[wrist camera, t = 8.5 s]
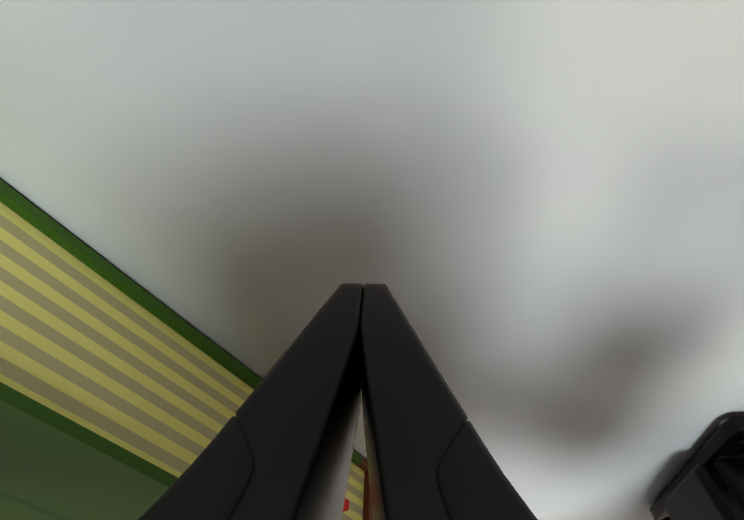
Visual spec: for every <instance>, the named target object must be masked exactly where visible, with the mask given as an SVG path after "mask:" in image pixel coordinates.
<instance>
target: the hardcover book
mask: <svg viewBox="0 0 744 520" xmlns="http://www.w3.org/2000/svg"><path fill="white" fill-rule="evenodd" d="M261 381H262V380H261V379H260V378H259V377H258V376H256V375H255V374H254V373H252V372H251V371H250V370H248V369H247V368H246V367H244V366H243V365H242V364H241V363H239V362H238V361H237V360H235V359H234V358H233V357H231V356H230V355H229V354H228V353H226V352H225V351H224V350H222V349H221V348H220V347H218V346H217V345H216V344H214V343H213V342H212V341H211V340H209V339H208V338H207V337H205V336H204V335H203V334H201V333H200V332H199V331H198V330H196V329H195V328H194V327H192V326H191V325H190V324H188V323H187V322H186V321H184V320H183V319H182V318H181V317H179V316H178V315H177V314H175V313H174V312H173V311H171V310H170V309H169V308H167V307H166V306H165V305H164V304H162V303H161V302H160V301H158V300H157V299H156V298H154V297H153V296H152V295H151V294H149V293H148V292H147V291H145V290H144V289H143V288H141V287H140V286H139V285H137V284H136V283H135V282H134V281H132V280H131V279H130V278H128V277H127V276H126V275H124V274H123V273H122V272H121V271H119V270H118V269H117V268H115V267H114V266H113V265H111V264H110V263H109V262H107V261H106V260H105V259H104V258H102V257H101V256H100V255H98V254H97V253H96V252H94V251H93V250H92V249H91V248H89V247H88V246H87V245H85V244H84V243H83V242H81V241H80V240H79V239H77V238H76V237H75V236H74V235H72V234H71V233H70V232H68V231H67V230H66V229H64V228H63V227H62V226H61V225H59V224H58V223H57V222H55V221H54V220H53V219H51V218H50V217H49V216H47V215H46V214H45V213H44V212H42V211H41V210H40V209H38V208H37V207H36V206H34V205H33V204H32V203H31V202H29V201H28V200H27V199H25V198H24V197H23V196H21V195H20V194H19V193H17V192H16V191H15V190H14V189H12V188H11V187H10V186H8V185H7V184H6V183H4V182H3V181H2V180H1V179H0V520H138V519H139V518H140V517H141V516H142V515H143V514H144V513H145V512H146V511H147V510H148V509H149V508H150V507H151V506H152V505H153V504H154V503H155V502H156V501H157V500H158V499H159V498H160V497H161V496H162V495H163V494H164V492H165V491H166V490H167V489H168V488H169V487H170V486H171V485H172V484H173V483H174V482H175V481H176V480H177V479H178V478H179V477H180V476H181V475H182V474H183V473H184V472H185V471H186V469H187V468H188V467H189V466H190V465H191V464H192V463H193V462H194V461H195V459H196V458H197V457H198V456H199V455H200V454H201V453H202V451H203V450H204V449H205V448H206V447H207V446H208V444H209V443H210V442H211V441H212V440H213V439H214V438H215V436H216V435H217V434H218V433H219V432H220V430H221V429H222V428H223V427H224V425H225V424H226V423H227V422H228V421H229V419H230V418H231V417H232V416H236V411H237V410H238V409H239V408H240V406H241V405H242V404H243V403H244V402H245V400H246V399H247V398H248V397H249V395H250V394H251V393H252V392H253V391H254V389H255V388H256V387H257V386H258V385H259V383H260V382H261ZM341 520H373V519H372V508H371V497H370V486H369V474H368V463H367V460H366V459H364V458H363V457H362V456H361V455H359V454H358V453H357V452H355V451H354V450H353V453H352V459H351V465H350V471H349V477H348V483H347V489H346V495H345V501H344V507H343V513H342V519H341Z"/></svg>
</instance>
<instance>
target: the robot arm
mask: <svg viewBox="0 0 744 520" xmlns="http://www.w3.org/2000/svg"><path fill="white" fill-rule="evenodd" d="M361 393H362V405H363V418H364V430H365V441H366V452H367V463H368V474H369V486H370V497H371V508H372V519H373V520H538V519H537V518H536V517H535V516H534V514H533V513H532V512H531V510H530V509H529V508H528V506H527V505H526V504H525V502H524V501H523V499H522V498H521V497H520V495H519V494H518V493H517V491H516V490H515V489H514V487H513V486H512V485H511V483H510V482H509V481H508V479H507V478H506V476H505V475H504V474H503V472H502V471H501V469H500V468H499V466H498V465H497V463H496V461H495V460H494V458H493V457H492V455H491V454H490V452H489V451H488V449H487V448H486V446H485V445H484V443H483V442H482V440H481V438H480V437H479V435H478V433H477V432H476V430H475V429H474V427H473V425H472V424H471V422H470V421H467V416H466V414H465V413H464V411H463V409H462V408H461V406H460V405H459V403H458V401H457V400H456V398H455V396H454V395H453V393H452V391H451V390H450V388H449V387H448V385H447V383H446V382H445V380H444V378H443V377H442V375H441V374H440V372H439V370H438V369H437V367H436V365H435V364H434V362H433V360H432V359H431V357H430V356H429V354H428V352H427V351H426V349H425V347H424V346H423V344H422V343H421V341H420V339H419V338H418V336H417V334H416V333H415V331H414V329H413V328H412V326H411V325H410V323H409V321H408V320H407V318H406V316H405V315H404V313H403V312H402V310H401V308H400V307H399V305H398V303H397V302H396V300H395V298H394V297H393V295H392V294H391V292H390V290H389V289H388V287H387V286H386V285H385V284H365V285H364V288H363V285H362V284H360V283H343V284H341V285H340V286H339V287H338V288H337V290H336V291H335V292H334V293H333V295H332V296H331V297H330V298H329V299H328V301H327V302H326V303H325V304H324V305H323V307H322V308H321V309H320V310H319V312H318V313H317V314H316V315H315V316H314V318H313V319H312V320H311V321H310V323H309V324H308V325H307V326H306V327H305V329H304V330H303V331H302V332H301V333H300V335H299V336H298V337H297V338H296V340H295V341H294V342H293V343H292V344H291V346H290V347H289V348H288V349H287V350H286V352H285V353H284V354H283V355H282V357H281V358H280V359H279V360H278V361H277V363H276V364H275V365H274V366H273V368H272V369H271V370H270V371H269V372H268V374H267V375H266V376H265V377H264V378H263V380H262V381H261V382H260V383H259V385H258V386H257V387H256V388H255V389H254V391H253V392H252V393H251V394H250V395H249V397H248V398H247V399H246V400H245V402H244V403H243V404H242V405H241V406H240V408H239V409H238V410H237V411H236V416H232V417H231V418H230V419H229V421H228V422H227V423H226V424H225V425H224V427H223V428H222V429H221V430H220V432H219V433H218V434H217V435H216V436H215V438H214V439H213V440H212V441H211V442H210V443H209V444H208V446H207V447H206V448H205V449H204V450H203V451H202V453H201V454H200V455H199V456H198V457H197V458H196V459H195V461H194V462H193V463H192V464H191V465H190V466H189V467H188V468H187V469H186V471H185V472H184V473H183V474H182V475H181V476H180V477H179V478H178V479H177V480H176V481H175V482H174V483H173V484H172V485H171V486H170V487H169V488H168V489H167V490H166V491H165V492H164V494H163V495H162V496H161V497H160V498H159V499H158V500H157V501H156V502H155V503H154V504H153V505H152V506H151V507H150V508H149V509H148V510H147V511H146V512H145V513H144V514H143V515H142V516H141V517H140V518H139V519H138V520H341V519H342V513H343V507H344V501H345V495H346V489H347V483H348V477H349V471H350V465H351V459H352V453H353V447H354V441H355V435H356V429H357V423H358V417H359V410H360V403H361ZM650 512H651V514H652V516H653V518H654V520H744V416H739V417H735V418H731V419H729V420H727V421H725V422H724V423H722V424H721V425H720V426H719V427H718V428H717V430H716V431H715V432H714V433H713V434H712V436H711V437H710V438H709V439H708V440H707V442H706V443H705V444H704V445H703V446H702V447H701V449H700V450H699V451H698V452H697V453H696V455H695V456H694V457H693V458H692V459H691V461H690V462H689V463H688V464H687V465H686V466H685V468H684V469H683V470H682V471H681V472H680V474H679V475H678V476H677V477H676V478H675V480H674V481H673V482H672V483H671V484H670V485H669V487H668V488H667V489H666V490H665V491H664V493H663V494H662V495H661V496H660V497H659V499H658V500H657V501H656V502H655V503H654V504H653V506H652V507H651V508H650Z"/></svg>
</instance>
